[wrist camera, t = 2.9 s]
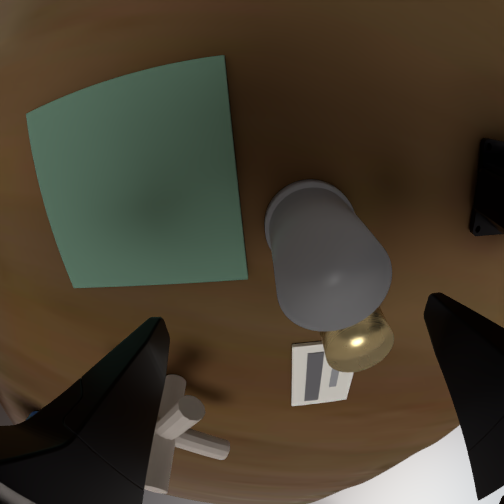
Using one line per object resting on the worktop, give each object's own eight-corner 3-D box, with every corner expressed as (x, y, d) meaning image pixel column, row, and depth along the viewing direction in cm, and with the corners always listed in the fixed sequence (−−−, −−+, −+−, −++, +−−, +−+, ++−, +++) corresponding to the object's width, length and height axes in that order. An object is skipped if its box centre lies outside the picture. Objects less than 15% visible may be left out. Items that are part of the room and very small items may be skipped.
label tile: (360, 336, 20) (361, 340, 19) (345, 396, 23) (346, 400, 23) (291, 344, 20) (292, 348, 20) (291, 403, 24) (291, 407, 23)
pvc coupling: (353, 178, 14) (405, 222, 9) (348, 258, 17) (384, 327, 11) (261, 181, 15) (267, 230, 9) (266, 264, 17) (273, 339, 12)
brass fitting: (376, 277, 17) (400, 318, 14) (368, 324, 19) (385, 366, 16) (315, 283, 18) (329, 328, 14) (313, 331, 19) (323, 376, 16)
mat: (224, 56, 12) (224, 55, 11) (248, 275, 17) (248, 279, 17) (30, 113, 12) (26, 113, 12) (76, 284, 18) (73, 287, 17)
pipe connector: (108, 381, 23) (75, 472, 14) (139, 318, 19) (90, 444, 10) (202, 421, 25) (192, 510, 17) (259, 374, 21) (261, 494, 13)
